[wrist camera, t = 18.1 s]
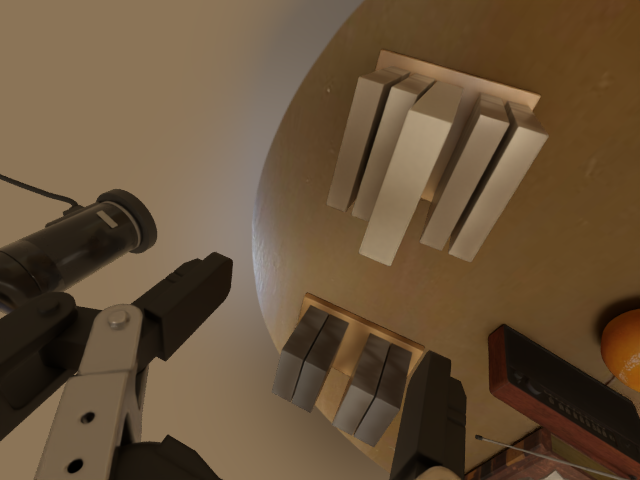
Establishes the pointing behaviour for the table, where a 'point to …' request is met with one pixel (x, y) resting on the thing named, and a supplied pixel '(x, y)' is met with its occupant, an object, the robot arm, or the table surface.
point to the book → (540, 462)
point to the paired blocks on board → (346, 367)
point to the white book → (410, 170)
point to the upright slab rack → (455, 156)
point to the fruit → (623, 348)
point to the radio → (565, 403)
